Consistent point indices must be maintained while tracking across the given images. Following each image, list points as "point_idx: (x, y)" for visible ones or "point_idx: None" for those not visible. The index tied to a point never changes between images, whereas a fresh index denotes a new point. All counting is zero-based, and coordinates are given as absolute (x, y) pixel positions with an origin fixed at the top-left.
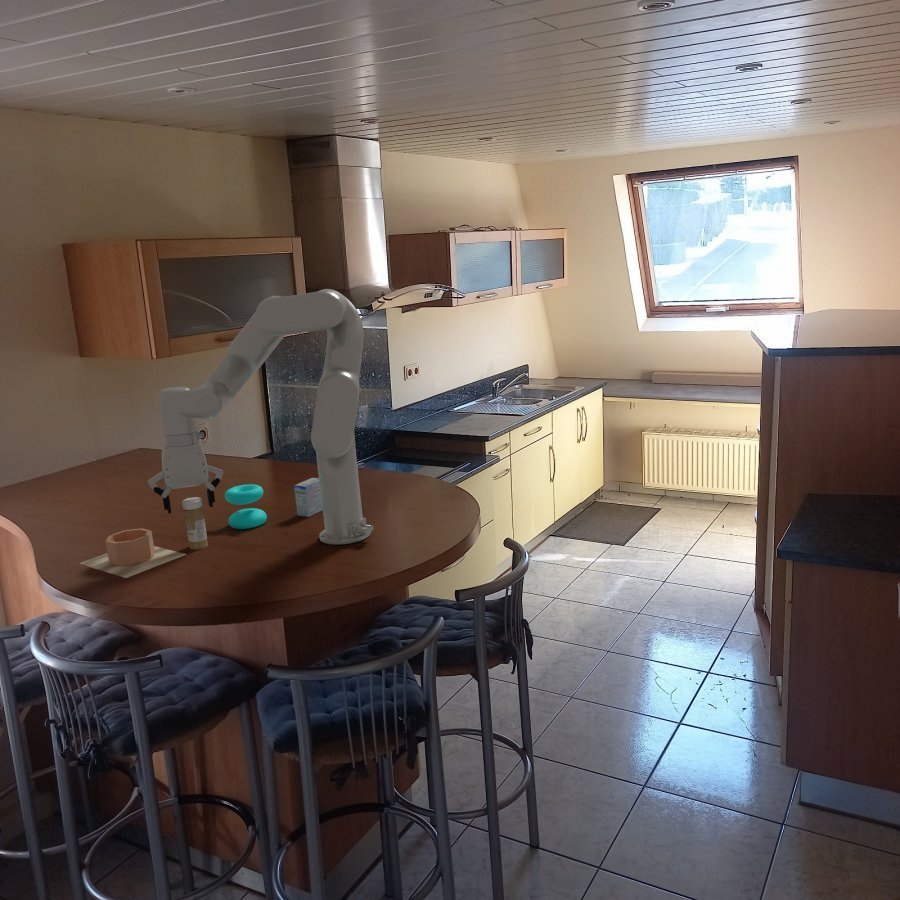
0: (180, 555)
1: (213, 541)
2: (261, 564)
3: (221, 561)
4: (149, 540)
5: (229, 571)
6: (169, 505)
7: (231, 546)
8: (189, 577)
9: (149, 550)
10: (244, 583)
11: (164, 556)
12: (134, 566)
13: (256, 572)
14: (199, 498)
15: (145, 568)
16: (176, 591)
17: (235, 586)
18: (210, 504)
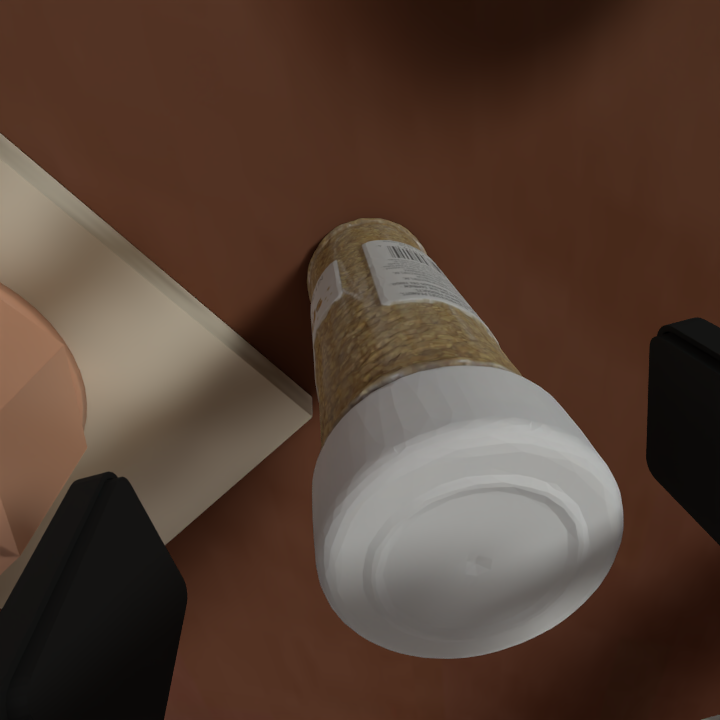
0: (275, 425)
1: (452, 55)
2: (665, 544)
3: None
4: (36, 497)
5: None
6: (158, 704)
7: (570, 239)
8: None
9: (67, 475)
10: (570, 680)
11: (169, 412)
12: None
13: (628, 610)
14: (601, 541)
15: None
16: (327, 695)
17: (537, 694)
18: (677, 486)
